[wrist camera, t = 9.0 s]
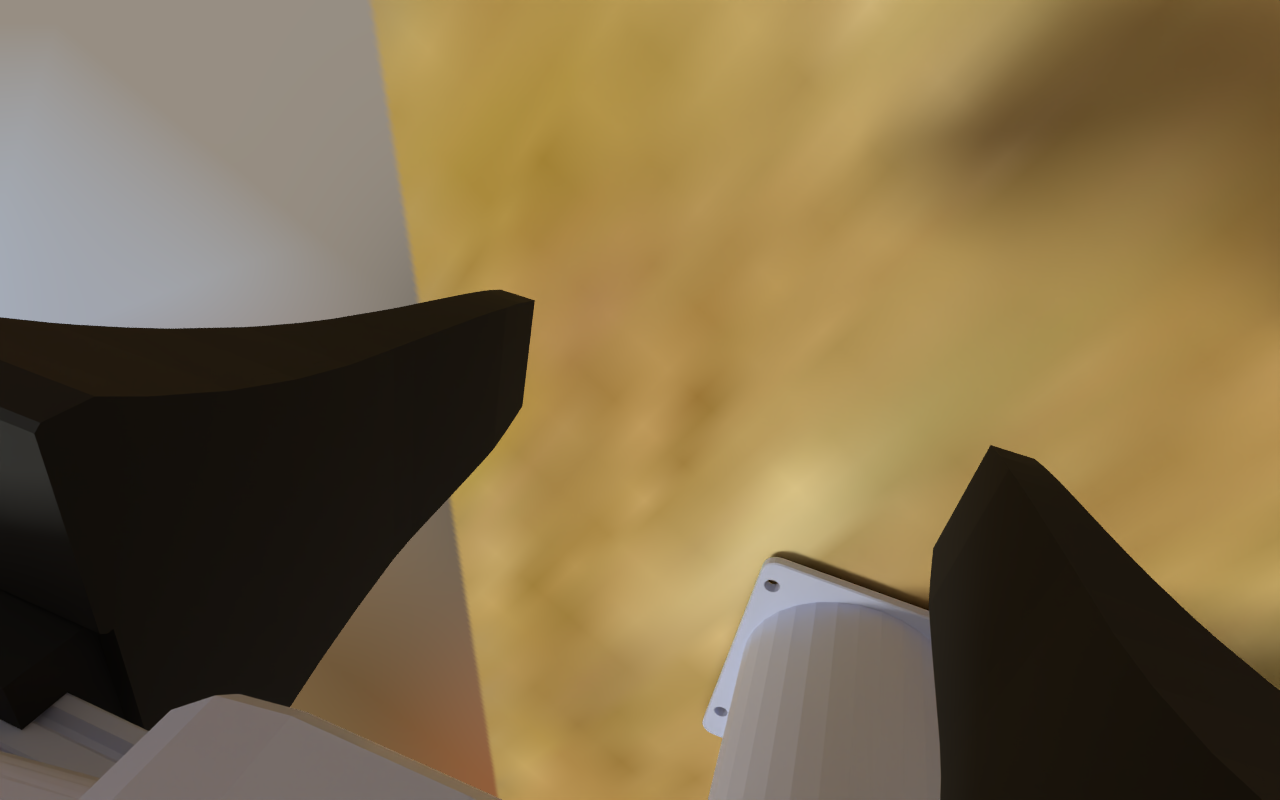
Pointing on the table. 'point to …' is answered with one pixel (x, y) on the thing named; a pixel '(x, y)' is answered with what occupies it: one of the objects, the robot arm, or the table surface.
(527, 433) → the table surface
